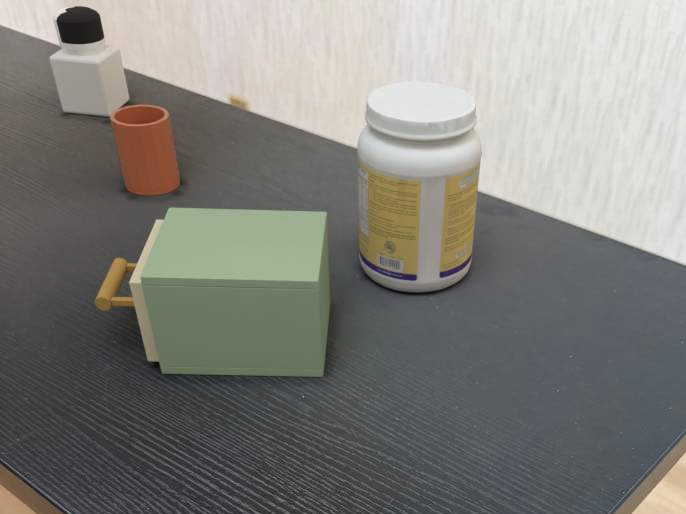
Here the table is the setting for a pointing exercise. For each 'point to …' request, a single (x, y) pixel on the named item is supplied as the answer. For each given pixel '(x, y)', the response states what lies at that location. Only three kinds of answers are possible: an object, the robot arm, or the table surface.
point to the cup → (146, 149)
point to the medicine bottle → (87, 65)
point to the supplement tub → (418, 185)
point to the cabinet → (239, 292)
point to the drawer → (114, 282)
